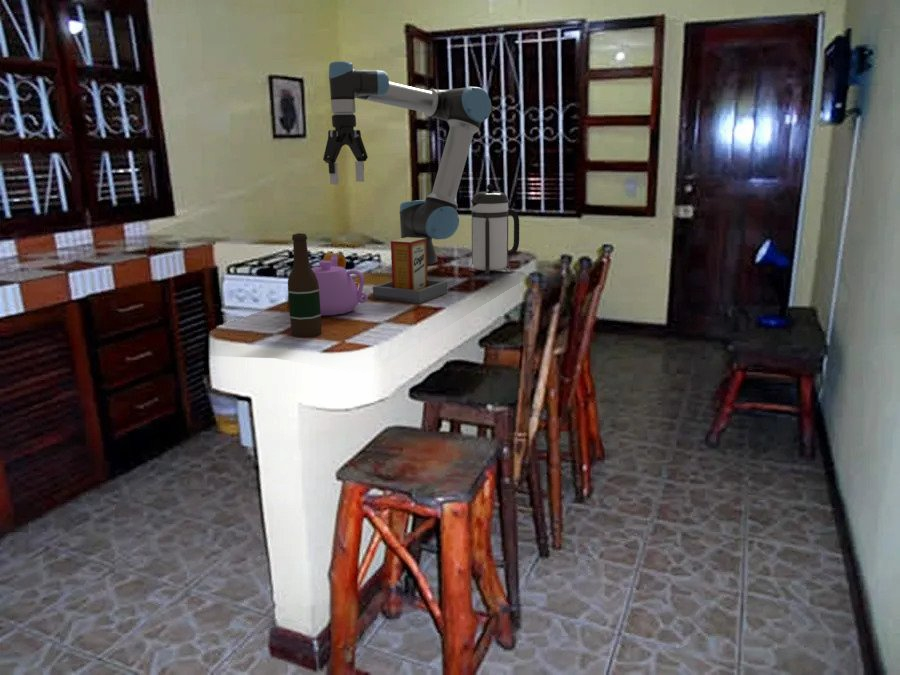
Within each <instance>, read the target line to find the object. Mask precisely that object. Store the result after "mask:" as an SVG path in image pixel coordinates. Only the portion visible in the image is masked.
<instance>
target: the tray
mask: <svg viewBox="0 0 900 675" xmlns="http://www.w3.org/2000/svg"><path fill="white" fill-rule="evenodd" d="M427 282H428V287H426V288H423V289H420V290H410V289H400V288H393V287H392V280H390V281H386V282H384V283H383V282H382V283H380V284H377V285H373V286H372V293H373V294H372V295H373V297H372V298H373V299H375V298H378V300H384V299H386V301H392V300H395V301H394V302H401V301H404V302H403V303H410V302H411V303H412V304H418V305H419V304H422V303H426V302H427V301H430V300H432V298H433V299H435V298H438V297H440V296H439V295H441V296H443V295H445V294H444V293H446V294H448V293H447V292H448V281H447V280H446V281H445V280H436V279H435V280H434V279H427ZM442 294H443V295H442ZM437 296H438V297H437ZM411 303H410V304H411Z"/></svg>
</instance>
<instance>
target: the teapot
mask: <svg viewBox="0 0 900 675" xmlns="http://www.w3.org/2000/svg"><path fill="white" fill-rule="evenodd" d="M318 264H319V266H315V267H311V269H312V270H313V272H314V273H315V275H316V277H317V280H318V285H319V295H320V310H321V316H338V315H337V314H342V315H343V314H347V313H350V312H351V311H354V310H355V309H356V307H357V306H358V304H359V303H360V304H364V303H367V302H368V300H369V296H368V294H367V293H366V292H363V289H364V284H365V276H364V274H363V273H362V272H361V271H359V270H356V269H351V270H347V269H346V267H345V268H343V267H339V266H337V255H333V256H332V257H331V260H330V261H323V260H320V261H319V262H318ZM351 275H356V276H357V277H359V284H358V289H357V286H356V284H355V282H356V281H355V280H354V279H353V277H352V276H351ZM362 296H363V297H364V298H362ZM287 301H288V302H289V297H288V296H287Z"/></svg>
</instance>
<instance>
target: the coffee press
mask: <svg viewBox="0 0 900 675" xmlns="http://www.w3.org/2000/svg"><path fill="white" fill-rule="evenodd" d="M493 189H494V186H493V184H492V183H489V184H487V185H486V190H487V191H480V192H476V193H474V195H473V196H472V199H471V200H470V203H471V206H470V211H471V265H470V266H469V268H468V271H471V269H470V268H471V267H472V266H473V269H474V270H480V271H484V276H485V275H489V276H490V273H491V271H501V270H504V271H505V272H507V273H508V274H509V273H511V272H512V267H510V265H509V257H510V256H513V255H515V254H516V252H517V251H518V249H519V246H520V218H519V215H518V213H517V212H516V210H514V209H510V208H509V202H510V200H509V198H508V195H507V194H506V193H504V192H501V191H493ZM508 208H509V209H508ZM509 215H510V216H511V217H512V219H513V244H512V248H511V249H510V250H509ZM506 267H508V268H509V270H510V271H508V270H507V268H506Z"/></svg>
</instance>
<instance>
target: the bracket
mask: <svg viewBox="0 0 900 675" xmlns="http://www.w3.org/2000/svg"><path fill="white" fill-rule="evenodd" d="M333 255H337V266H339V267H343V268H345V269H346V265H347V259H346V257H345V255H344V254H342V253H329V252H328V253H325V255H324V256H323V257H322V258H323V259H322V261H330V260H331V257H332V256H333ZM354 282H355V284H356V286H357V289H358V290H359V282H358V281H354Z"/></svg>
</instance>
